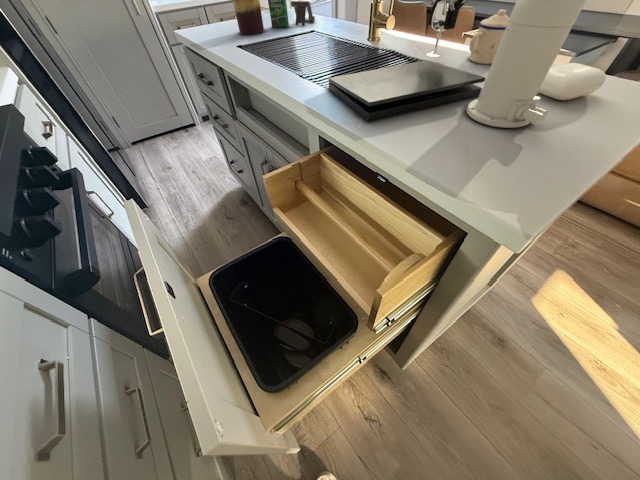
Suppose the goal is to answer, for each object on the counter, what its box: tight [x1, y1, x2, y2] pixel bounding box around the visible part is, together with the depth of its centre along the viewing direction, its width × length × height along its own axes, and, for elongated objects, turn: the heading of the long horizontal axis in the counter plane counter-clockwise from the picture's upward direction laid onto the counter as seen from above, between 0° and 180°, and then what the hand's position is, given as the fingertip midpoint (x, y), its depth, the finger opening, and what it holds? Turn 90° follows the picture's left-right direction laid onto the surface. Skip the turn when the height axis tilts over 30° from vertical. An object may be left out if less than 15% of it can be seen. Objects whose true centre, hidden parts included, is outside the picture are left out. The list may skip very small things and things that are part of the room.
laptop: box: [328, 81, 483, 123], centre depth 66 cm, size 21×30×2 cm
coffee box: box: [267, 0, 290, 29], centre depth 119 cm, size 8×3×13 cm, turn 70°
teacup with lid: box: [469, 9, 510, 65], centre depth 77 cm, size 12×9×12 cm
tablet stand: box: [290, 0, 316, 26], centre depth 124 cm, size 9×8×8 cm
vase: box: [232, 0, 265, 36], centre depth 112 cm, size 11×11×20 cm
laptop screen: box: [328, 59, 486, 106], centre depth 65 cm, size 21×30×1 cm
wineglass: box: [426, 0, 451, 58], centre depth 76 cm, size 6×6×12 cm
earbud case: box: [537, 62, 607, 101], centre depth 61 cm, size 10×13×5 cm
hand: (441, 25), depth 75 cm, fingers closed on wineglass, 5 cm apart
